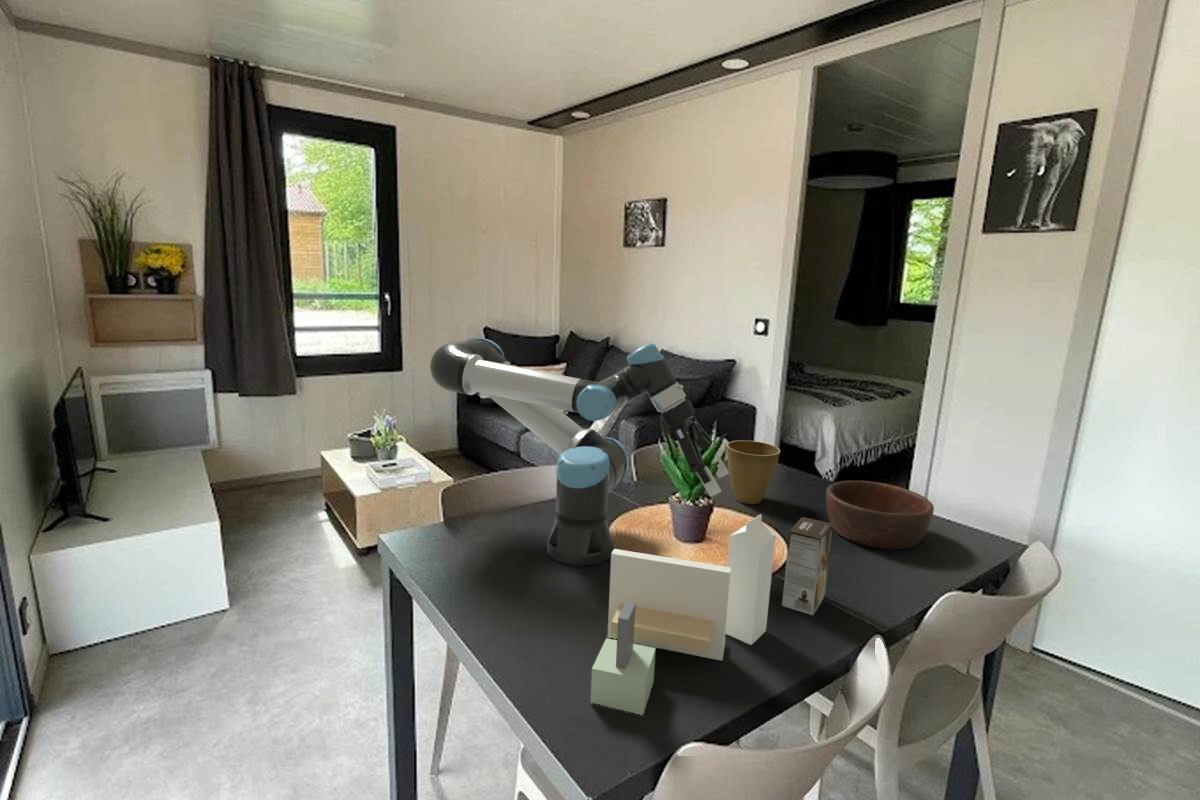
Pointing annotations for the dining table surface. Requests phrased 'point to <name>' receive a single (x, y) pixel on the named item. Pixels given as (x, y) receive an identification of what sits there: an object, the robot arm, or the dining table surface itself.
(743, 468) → the plant pot
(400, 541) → the dining table surface
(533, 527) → the dining table surface
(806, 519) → the coffee box
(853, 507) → the wooden bowl
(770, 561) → the milk
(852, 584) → the dining table surface
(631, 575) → the wall board
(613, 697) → the green block with handle
